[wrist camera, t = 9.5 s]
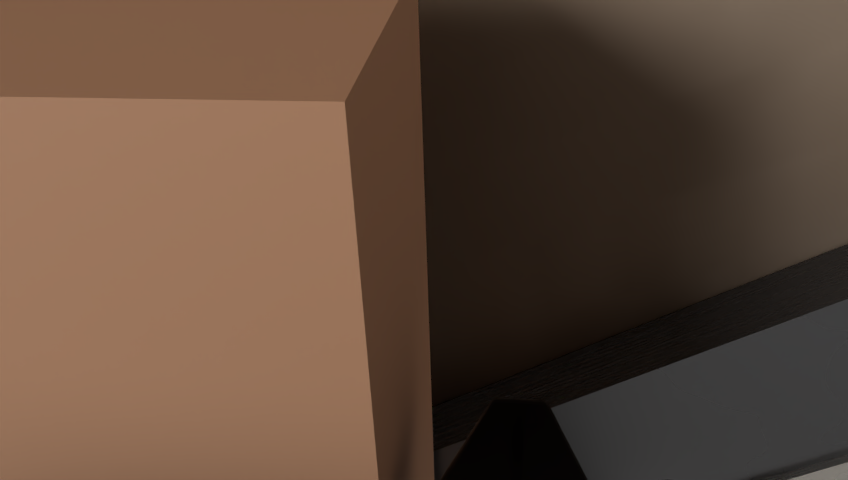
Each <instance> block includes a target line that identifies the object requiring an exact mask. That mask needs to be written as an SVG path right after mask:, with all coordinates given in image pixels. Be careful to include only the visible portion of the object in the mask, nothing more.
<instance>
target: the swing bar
mask: <svg viewBox="0 0 848 480" xmlns="http://www.w3.org/2000/svg"><path fill="white" fill-rule="evenodd" d="M0 480H434V452H433V423H432V393H431V364H430V335H429V305H428V276H427V247H426V217H425V188H424V159H423V130H422V100H421V71H420V42H419V12H418V0H0Z"/></svg>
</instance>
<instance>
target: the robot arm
mask: <svg viewBox="0 0 848 480" xmlns="http://www.w3.org/2000/svg"><path fill="white" fill-rule="evenodd" d="M440 480H588V479H587V477H586V475H585V473H584V471H583V469H582V467H581V465H580V463H579V461H578V459H577V457H576V456H575V454H574V452H573V450H572V448H571V446H570V444H569V442H568V440H567V438H566V436H565V434H564V432H563V431H562V429H561V427H560V425H559V423H558V421H557V419H556V417H555V415H554V413H553V411H552V409H551V408H550V406H549V405H548V403H547V402H545V401H544V400H536V399H518V398H495V399H493V400H492V401H491V402H490V403H489V404H488V406H487V407H486V409H485V411H484V412H483V414H482V415H481V417H480V418H479V420H478V421H477V423H476V425H475V426H474V428H473V429H472V431H471V432H470V434H469V435H468V437H467V439H466V440H465V442H464V443H463V445H462V446H461V448H460V449H459V451H458V452H457V454H456V456H455V457H454V459H453V460H452V462H451V463H450V465H449V466H448V468H447V470H446V471H445V473H444V474H443V476H442V477H441V479H440Z"/></svg>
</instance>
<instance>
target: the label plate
mask: <svg viewBox="0 0 848 480" xmlns="http://www.w3.org/2000/svg"><path fill="white" fill-rule="evenodd" d="M495 398H518V399H536V400H544V401H545V402H547V403H548V405H549V406H550V408H551V409H552V411H553V413H554V415H555V417H556V419H557V421H558V423H559V425H560V427H561V429H562V431H563V432H564V434H565V436H566V438H567V440H568V442H569V444H570V446H571V448H572V450H573V452H574V454H575V456H576V457H577V459H578V461H579V463H580V465H581V467H582V469H583V471H584V473H585V475H586V477H587V479H588V480H848V244H847V245H844V246H842V247H839V248H837V249H834V250H831V251H829V252H826V253H824V254H821V255H819V256H816V257H814V258H811V259H809V260H806V261H804V262H801V263H798V264H796V265H793V266H791V267H788V268H786V269H783V270H781V271H778V272H776V273H773V274H771V275H768V276H765V277H763V278H760V279H758V280H755V281H753V282H750V283H748V284H745V285H743V286H740V287H737V288H735V289H732V290H730V291H727V292H725V293H722V294H720V295H717V296H715V297H712V298H710V299H707V300H704V301H702V302H699V303H697V304H694V305H692V306H689V307H687V308H684V309H682V310H679V311H677V312H674V313H671V314H669V315H666V316H664V317H661V318H659V319H656V320H654V321H651V322H649V323H646V324H644V325H641V326H638V327H636V328H633V329H631V330H628V331H626V332H623V333H621V334H618V335H616V336H613V337H611V338H608V339H605V340H603V341H600V342H598V343H595V344H593V345H590V346H588V347H585V348H583V349H580V350H577V351H575V352H572V353H570V354H567V355H565V356H562V357H560V358H557V359H555V360H552V361H550V362H547V363H544V364H542V365H539V366H537V367H534V368H532V369H529V370H527V371H524V372H522V373H519V374H517V375H514V376H511V377H509V378H506V379H504V380H501V381H499V382H496V383H494V384H491V385H489V386H486V387H484V388H481V389H478V390H476V391H473V392H471V393H468V394H466V395H463V396H461V397H458V398H456V399H453V400H450V401H448V402H445V403H443V404H440V405H438V406H435V407H433V408H432V423H433V452H434V480H440V479H441V477H442V476H443V474H444V473H445V471H446V470H447V468H448V466H449V465H450V463H451V462H452V460H453V459H454V457H455V456H456V454H457V452H458V451H459V449H460V448H461V446H462V445H463V443H464V442H465V440H466V439H467V437H468V435H469V434H470V432H471V431H472V429H473V428H474V426H475V425H476V423H477V421H478V420H479V418H480V417H481V415H482V414H483V412H484V411H485V409H486V407H487V406H488V404H489V403H490V402H491V401H492V400H493V399H495Z"/></svg>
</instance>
